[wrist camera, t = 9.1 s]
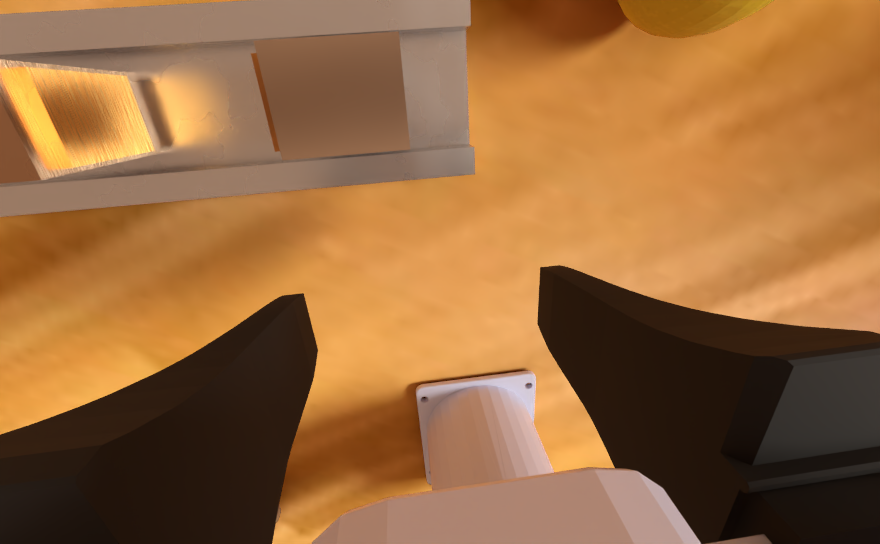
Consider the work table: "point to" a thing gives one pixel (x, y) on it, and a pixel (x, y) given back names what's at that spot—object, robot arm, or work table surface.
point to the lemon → (687, 15)
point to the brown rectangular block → (333, 94)
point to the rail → (204, 101)
